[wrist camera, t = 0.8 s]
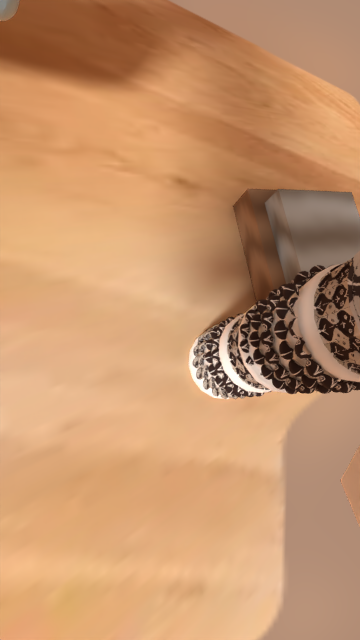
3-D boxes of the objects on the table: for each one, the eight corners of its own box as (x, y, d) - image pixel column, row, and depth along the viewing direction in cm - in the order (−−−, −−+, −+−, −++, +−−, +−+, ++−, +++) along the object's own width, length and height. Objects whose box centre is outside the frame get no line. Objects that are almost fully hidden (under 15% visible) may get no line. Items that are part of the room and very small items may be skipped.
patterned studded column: (171, 344, 39) (330, 247, 17) (232, 314, 43) (431, 201, 20) (207, 417, 39) (427, 419, 16) (267, 379, 42) (513, 338, 20)
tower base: (233, 206, 48) (260, 173, 41) (321, 207, 53) (358, 179, 47) (260, 316, 44) (294, 300, 38) (351, 305, 50) (394, 289, 44)
